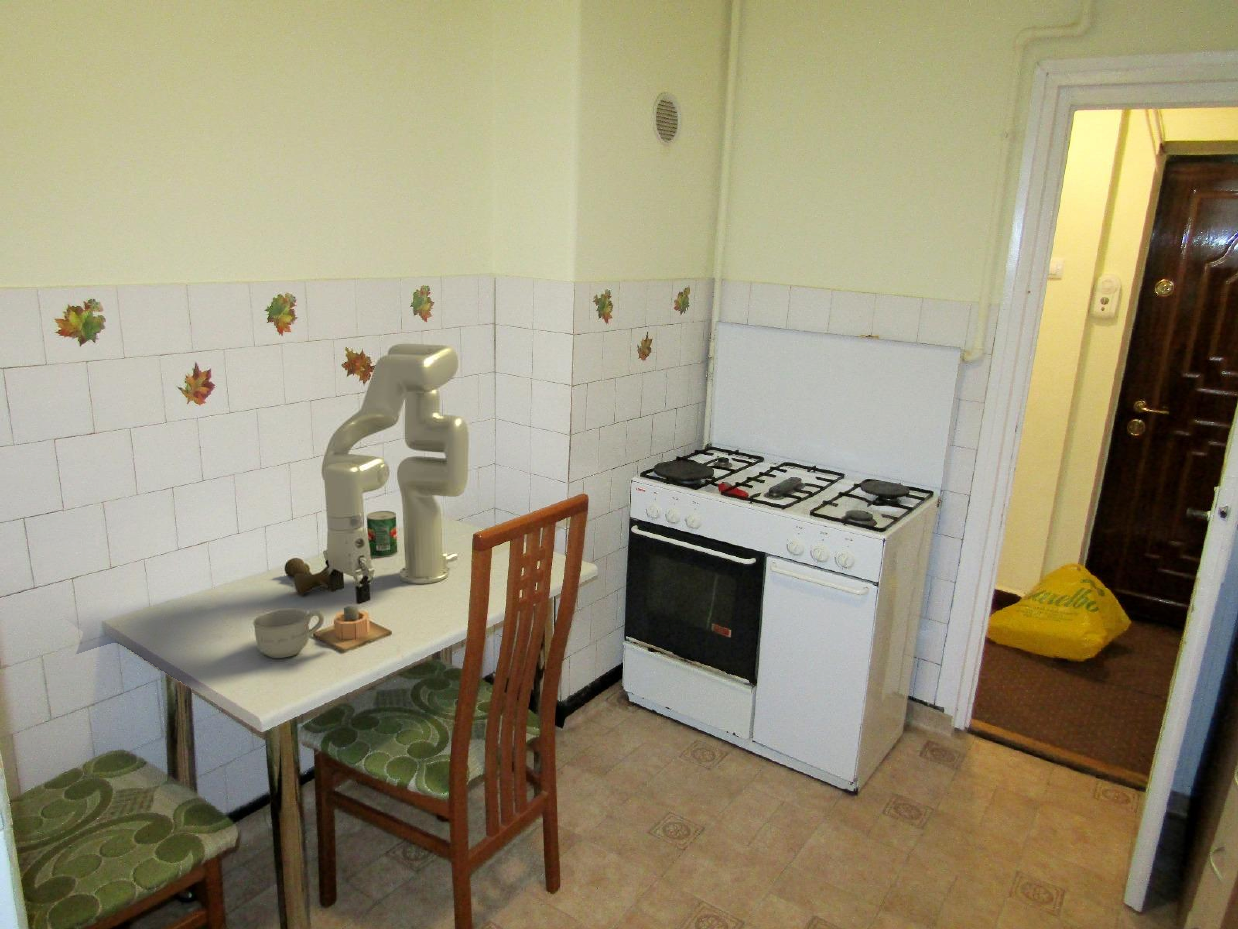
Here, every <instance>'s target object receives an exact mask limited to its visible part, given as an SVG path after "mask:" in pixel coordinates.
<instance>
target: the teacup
mask: <svg viewBox="0 0 1238 929" xmlns="http://www.w3.org/2000/svg"><path fill="white" fill-rule="evenodd" d="M315 616H317V617H318V620H317V623H316V624H315V625H314V626H313V627H312V628H310V627H309V625H310V623H311V619H312V618H313V617H315ZM324 621H325V617H324V615H323V613H322V612H321V611H319V610H312V611H310V612H307V610H304V609H301V608H280V609H275V610H271V611H268V612H265V613H262V614H260V615H258V616H257V617H256V618H255V619H254V620H253V623H252V624H253V626H254V633H255V634H254V635H255V642H256V646H257V647H258V650H259V651H260V652H261V653H262V654H265V655H267V656H268V657H269V658H274V659H282V658H288V657H292V656H295V655H297V654H299V653H300V652H302V650H303V649H304V648H305V647H306V646H307V645H308V643H309V640H310V638H311V637H313V633H315V632H317V631H319V630H320V628H321V627H322V626H323V624H324Z"/></svg>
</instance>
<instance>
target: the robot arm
mask: <svg viewBox="0 0 1238 929" xmlns="http://www.w3.org/2000/svg"><path fill="white" fill-rule="evenodd" d="M458 367H459V358H458V354H457V353H456V351H455V350H454V349H453V348H452V347H450V346H448V345H443V344H442V345H440V344H423V343H398V344H397V343H396V344H394V345H392V346H390V347H389V348H388V351H387V354H386V355H383V356H381V357H380V358H379V359H377V361H376V362H375V366H374V369H373V370H372V374H371V376H370V381H369V384H368V387H367V389H366V392H365V395H364V398H363V401H362V405H361V408H360V409H359V410H358V411H357V412H355V414H353V415H352V416H350V417H349V418H347V419H346V421H344V422H343V423H342V424H341V425H340V426H339V427H338V428H337V429H336V430H335V431H334V433H333V434H332V436H331V437H330V439H329V442H328V444H327V446H326V450H325V452H324V456H323V459H322V463H321V476H322V480H323V483H324V495H325V498H324V499H325V510H326V523H327V524H326V528H327V535H326V549H325V550H323V552H322V553H323V554H322V555H323V556H324V560H325V562H324V563H325V565H326V566H327V567H328V570H327V571H328V574H331V575H329V580H330V587H329V591H330V592H331V593H334V592H338V591H340V590H344V588H345V579H344V577H345V576H344V574H345V575H347V576H350V577H353V579H354V582H355V584H356V585H355V587H354V588H355V590H354V591H355V602H356V603H355V604H357V605H360V604H364V603H366V602H369V601H371V586H370V585H371V584H372V581H373V579H374V577H373V576H374V574H375V568H374V567H373V565H372V558H371V557H372V556H370V548H369V541H368V534H367V533H368V532H367V530H366V528H365V516H364V515H365V514H364V500H363V498H364V497H363V495H364V493H369V492H374V491H376V490H379V489H381V488H382V487H384V486H385V484H386V483H387V482H388V481H389V478H390V467H389V464H388V462H387V461H386V460H385V459H383V458H382V457H379V456H375V455H365V454H364V455H363V454H353V453H350V451H351V449H352V448H353V447H354V446H355V445H356V444H357V443H358V442H360V441H361V440H363V439H364V438H367V437H369V436H371V435H374V434H377V433H378V432H382V431H385V430H387V429H390V428H392V427H394V426H395V425H396V424H397V423H398V421H399V419H400V415H401V413H402V408H403V406H404V442H405V445H406V446H407V448H409V449H410V450H413V451H417V452H418V451H419V452H429V453H431V452H432V453H440V454H441V453H442V454H444V456H445V457H435V456H423V455H421V456H420V455H415V456H409V457H405V458H404V459H402V460H401V461H400V463H399V464H398V466H397V470H396V477H397V478H396V479H397V483H398V487H399V491H400V496H401V504H402V522H403V523H402V525H403V545H404V567H403V568H402V569H400V571H399V572H398V573H399V578H400V580H402V581H404V582H406V583H411V584H420V585H421V584H430V583H431V584H432V583H436V582H439V581H442V580H444V579H446V578H447V577H448V576H449V575H450V569H449V567H448V566H447V565H449V563H452V562H455V561H457V560H458V555H457V554H456V553H455V552H454V553H451V554H448V555H447V553H443V533H442V531H443V530H442V510H441V506H440V503H439V500H437V498H436V496H437V497H438V496H439V497H449V498H451V497H452V498H453V497H459V496H461V495H463V494H464V492H465V490H466V488H467V484H468V471H469V443H470V442H469V440H470V439H469V436H470V434H469V428H468V426H467V423H466V421H465V419H463V418H462V417H460V416H457V415H453V414H442V413H441V411H440V410H441V408H440V407H441V404H440V402H441V398H440V397H441V395H440V392H439V388H441V387H442V386H443V385H445V384H447V383H448V382H450V381H451V380H452V379H453V378H454V377H455V375H456V373H457V372H458V371H457V370H458ZM360 576H362V578H361V577H360Z"/></svg>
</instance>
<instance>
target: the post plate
mask: <svg viewBox="0 0 1238 929" xmlns="http://www.w3.org/2000/svg"><path fill="white" fill-rule="evenodd" d="M358 610H359V606H357V605H347V606H345V607H344V608H343V612H344V620H345V622H354V621H357V620H359V614H358ZM369 627H370V629H369V632H368V634H367V635H365V636H362V637H359V638H357V639H356V638H355V639H341V638H339V637H337V636H335V632H334V624H333V625H331V626H329V627H326V628H325V627H324V628H323V629H318V630H317V631H316V632H315V633H313V634H312V637H314V638H315V639H318V640H319V639H320V641H321V640H322V641H321V642H323V641H324V643H325V644H327V643H328V644H327V645H329V644H330V645H329V646H331V647H333V648H334V647H335V649H336V648H337V649H336V650H339V651H340V650H341V651H340V652H342V653H345V654H346V653H348V652H350V651H349V650H351V651H352V650H355V649H358V648H360V647H363V646H365V644H366V645H368V644H367V643H369V644H370V643H374V642H375V641H374V640H376V641H379V640H381V639H380V638H382V639H384V638H386V637H389V636H392V635H393V631H392V630H391V629H388V628H385V627H384V626H382V625H380V624H377V622H376V623H375V622H374V621H372V620H369ZM391 634H392V635H391ZM383 637H384V638H383ZM378 639H379V640H378ZM373 641H374V642H373ZM357 647H358V648H357ZM347 651H348V652H347Z"/></svg>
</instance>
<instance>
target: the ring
mask: <svg viewBox="0 0 1238 929" xmlns="http://www.w3.org/2000/svg"><path fill="white" fill-rule="evenodd" d="M358 614H359V620H357V621H354V622H345V620H344V611H342V612H340V613H337V614H335V616H334V619H333V625H334V632H335V636H337V637H339V638H341V639H355V638H356V639H357V638H359V637H362V636H365V635H367V634H368V632H369V629H370V627H369V621H370V615H369V614H370V613H368V612H366V611H365V610H362V609H361V610H360V609H358Z"/></svg>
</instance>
